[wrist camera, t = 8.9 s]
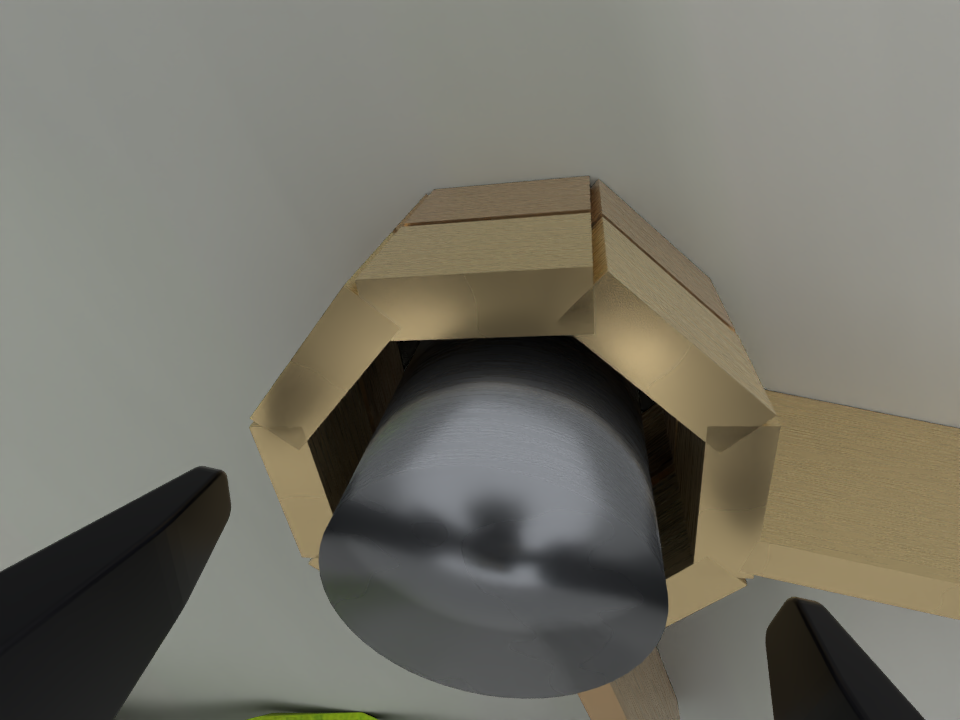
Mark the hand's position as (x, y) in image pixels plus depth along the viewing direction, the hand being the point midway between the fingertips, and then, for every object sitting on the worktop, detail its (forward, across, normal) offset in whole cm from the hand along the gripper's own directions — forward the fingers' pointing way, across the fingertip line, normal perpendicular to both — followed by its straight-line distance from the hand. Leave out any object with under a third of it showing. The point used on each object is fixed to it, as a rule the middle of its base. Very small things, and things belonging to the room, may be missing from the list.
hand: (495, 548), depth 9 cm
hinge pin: (+6, 0, 0) cm, 6 cm away
